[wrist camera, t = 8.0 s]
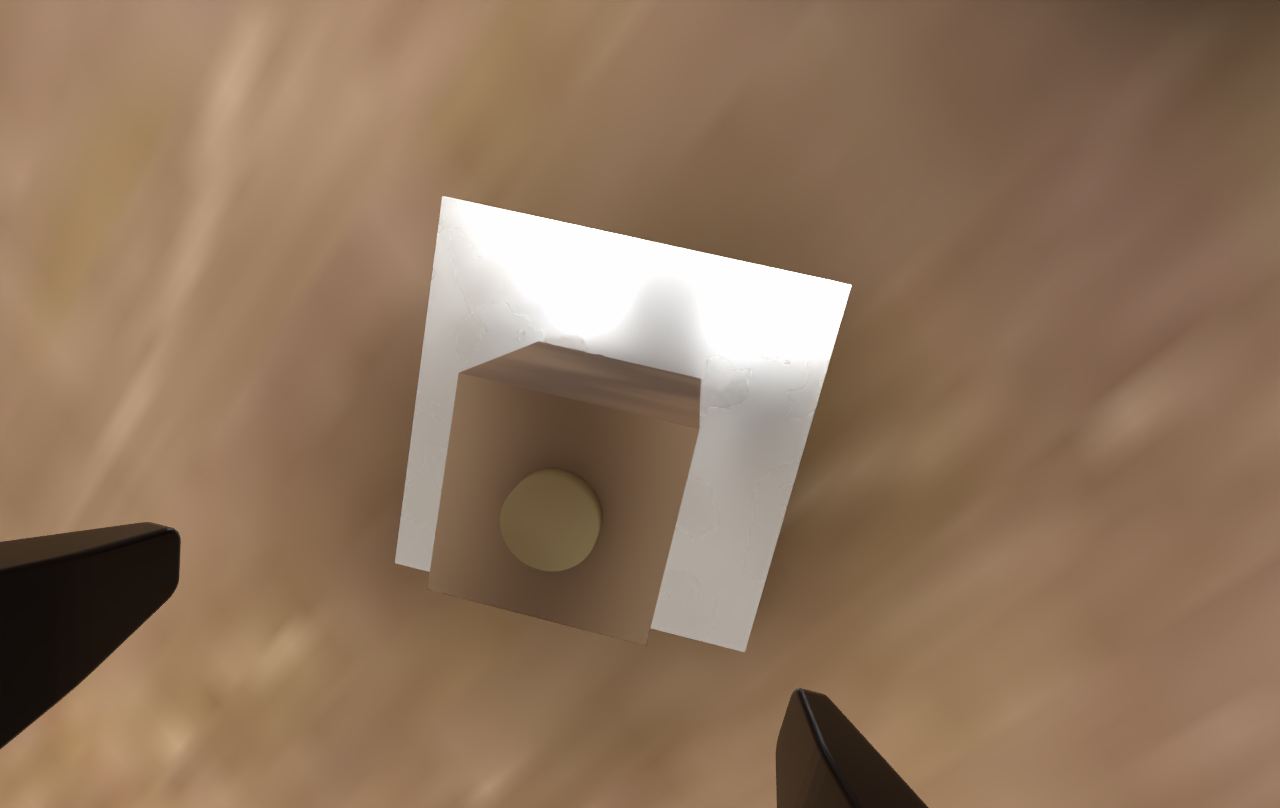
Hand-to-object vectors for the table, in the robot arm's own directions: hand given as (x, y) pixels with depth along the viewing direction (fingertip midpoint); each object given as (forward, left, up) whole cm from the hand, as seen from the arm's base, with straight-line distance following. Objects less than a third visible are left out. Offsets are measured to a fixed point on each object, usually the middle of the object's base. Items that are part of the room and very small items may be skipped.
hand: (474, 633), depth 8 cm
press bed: (0, 0, -12) cm, 12 cm away
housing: (0, 0, -10) cm, 10 cm away
